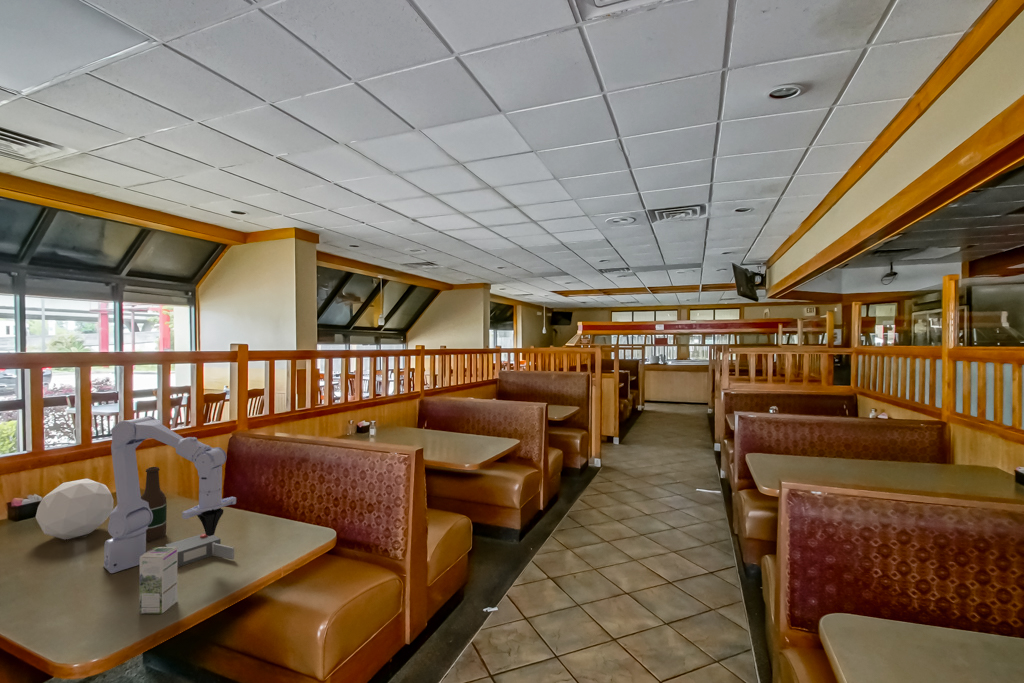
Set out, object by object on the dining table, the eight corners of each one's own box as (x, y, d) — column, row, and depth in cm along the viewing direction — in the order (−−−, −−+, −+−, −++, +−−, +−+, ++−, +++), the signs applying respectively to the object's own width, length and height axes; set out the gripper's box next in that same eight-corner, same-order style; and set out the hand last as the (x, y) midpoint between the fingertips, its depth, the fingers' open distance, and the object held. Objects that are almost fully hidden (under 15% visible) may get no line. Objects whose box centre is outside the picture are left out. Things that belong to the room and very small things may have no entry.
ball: (62, 554, 157) (52, 501, 163) (130, 524, 165) (118, 475, 172) (24, 548, 141) (15, 490, 147) (102, 515, 149) (91, 462, 156)
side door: (234, 559, 139) (234, 546, 139) (232, 560, 138) (232, 548, 138) (213, 554, 142) (213, 542, 142) (211, 555, 142) (211, 543, 142)
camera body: (170, 569, 133) (171, 552, 133) (160, 560, 139) (160, 544, 139) (220, 553, 144) (220, 537, 144) (208, 545, 149) (208, 530, 149)
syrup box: (178, 601, 117) (179, 545, 117) (161, 614, 111) (162, 556, 111) (156, 601, 117) (156, 545, 117) (137, 615, 111) (138, 556, 111)
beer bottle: (172, 533, 159) (172, 465, 159) (152, 542, 151) (152, 471, 151) (151, 532, 159) (152, 464, 159) (131, 541, 152) (131, 470, 152)
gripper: (192, 499, 127) (191, 547, 127) (242, 484, 141) (241, 528, 140) (178, 495, 131) (177, 542, 131) (228, 481, 144) (227, 524, 144)
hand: (210, 534), depth 136 cm, fingers closed
